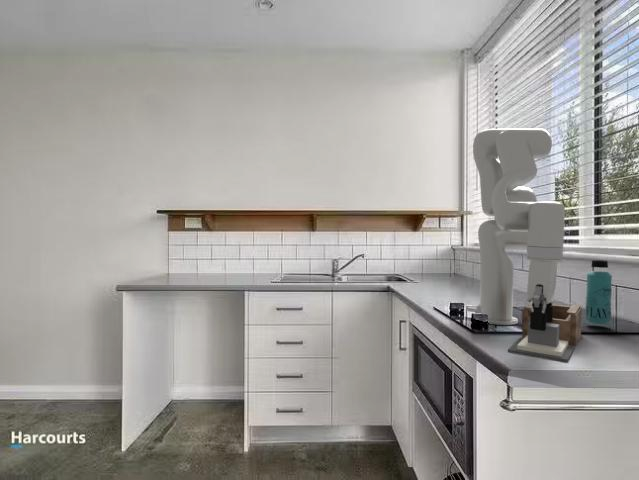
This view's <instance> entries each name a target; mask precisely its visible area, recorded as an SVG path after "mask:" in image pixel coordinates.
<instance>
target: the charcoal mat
mask: <svg viewBox="0 0 639 480" xmlns="http://www.w3.org/2000/svg"><path fill="white" fill-rule="evenodd" d="M523 339H524V338H522V337H520V338H518V339H517V340H516V342H514V343H513V344H512V345H511V346H510V347H509V348H508V349H507V353H511V354H517V355H524V356H529V357H534V358H540V359H545V360H551V361H552V360H553V361H558V362H564V363H569V361H570V358H571V357H572V355H573V353H574V351H575V349H576V347H575V346H573V345H568V346H567V348H566V350H565V352H564V353H563V355H562V357H560V356H554V355H548V354H542V353H536V352H530V351H524V350H518V349H517V345H518V344H519V343H520V342H521V341H522V340H523Z"/></svg>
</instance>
